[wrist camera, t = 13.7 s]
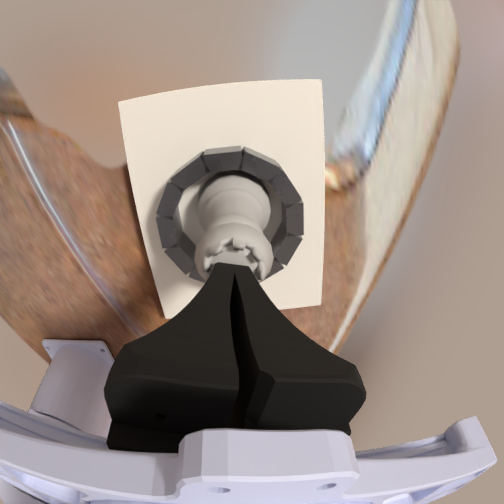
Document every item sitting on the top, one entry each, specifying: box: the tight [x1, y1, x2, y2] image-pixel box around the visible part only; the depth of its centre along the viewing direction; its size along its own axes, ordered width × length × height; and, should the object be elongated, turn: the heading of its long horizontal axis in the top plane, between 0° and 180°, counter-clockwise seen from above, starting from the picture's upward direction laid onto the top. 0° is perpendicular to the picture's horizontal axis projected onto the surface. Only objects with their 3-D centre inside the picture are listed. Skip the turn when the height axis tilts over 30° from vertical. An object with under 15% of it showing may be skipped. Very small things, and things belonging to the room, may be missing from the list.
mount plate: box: [118, 79, 325, 319], centre depth 20 cm, size 16×12×1 cm
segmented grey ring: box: [156, 146, 304, 283], centre depth 18 cm, size 8×8×2 cm
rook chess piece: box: [194, 170, 274, 283], centre depth 15 cm, size 4×4×8 cm
